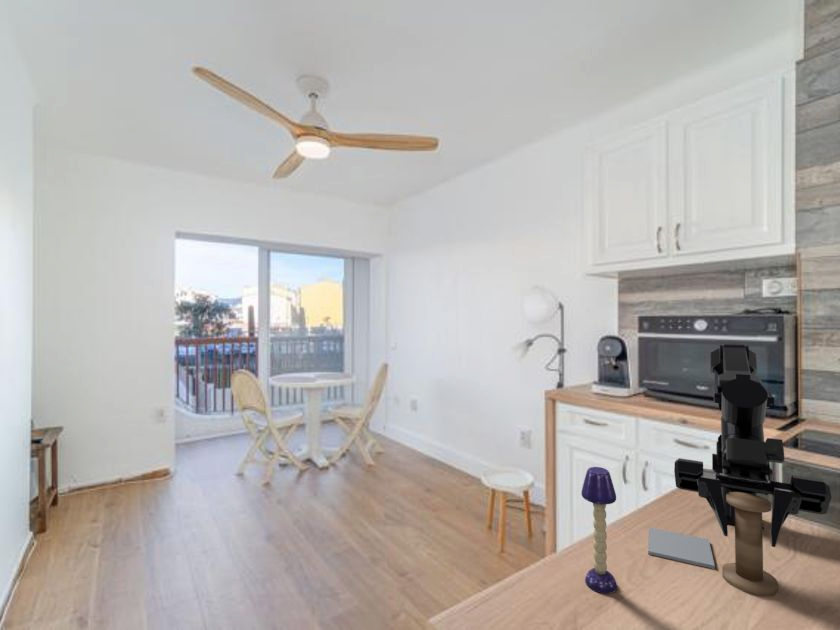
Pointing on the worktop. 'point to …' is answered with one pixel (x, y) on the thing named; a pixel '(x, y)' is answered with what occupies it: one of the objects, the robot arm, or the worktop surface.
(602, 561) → the toy lamp
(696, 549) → the grey mat
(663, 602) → the worktop surface
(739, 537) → the walnut stool
